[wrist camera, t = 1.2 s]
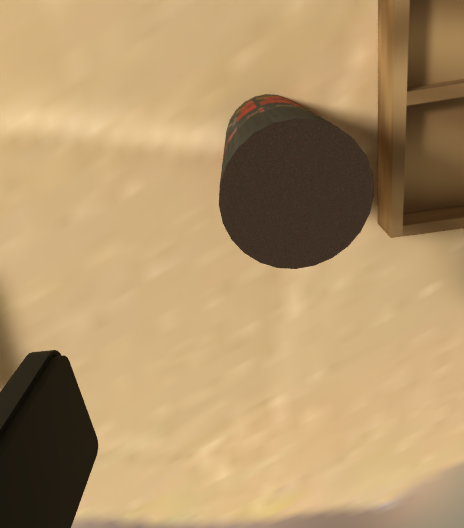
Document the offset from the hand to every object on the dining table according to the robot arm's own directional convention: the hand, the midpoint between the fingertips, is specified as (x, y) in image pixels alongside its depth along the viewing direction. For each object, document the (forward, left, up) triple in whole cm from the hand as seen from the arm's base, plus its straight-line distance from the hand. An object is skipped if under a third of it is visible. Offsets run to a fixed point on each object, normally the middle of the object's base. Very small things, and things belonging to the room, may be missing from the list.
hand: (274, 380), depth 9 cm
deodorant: (-2, +2, -23) cm, 23 cm away
